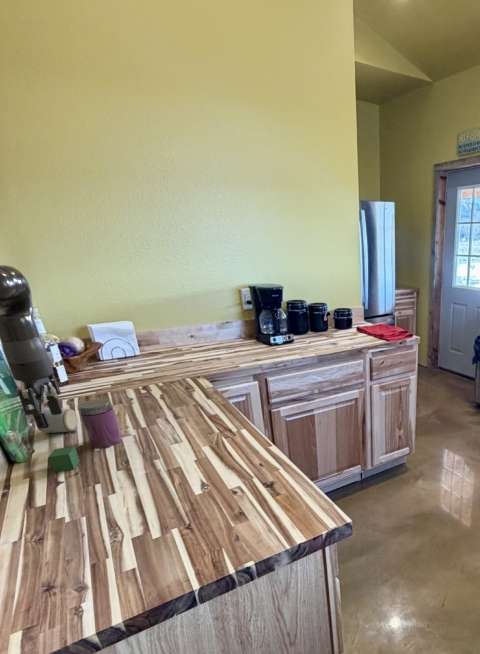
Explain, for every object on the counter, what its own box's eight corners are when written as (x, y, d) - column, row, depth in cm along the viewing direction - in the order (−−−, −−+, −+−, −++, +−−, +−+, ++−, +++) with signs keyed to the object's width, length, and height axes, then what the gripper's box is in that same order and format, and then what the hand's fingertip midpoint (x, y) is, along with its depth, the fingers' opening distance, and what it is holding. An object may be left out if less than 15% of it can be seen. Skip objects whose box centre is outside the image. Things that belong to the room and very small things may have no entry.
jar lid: (76, 416, 113) (74, 409, 112) (85, 406, 120) (83, 400, 119) (108, 413, 116) (106, 406, 115) (114, 403, 122) (112, 397, 121)
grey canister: (69, 435, 125) (61, 411, 122) (39, 437, 124) (31, 413, 121) (87, 421, 135) (80, 399, 132) (60, 423, 134) (52, 400, 131)
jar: (86, 450, 117) (73, 412, 112) (94, 437, 124) (83, 402, 119) (118, 445, 120) (107, 408, 115) (124, 434, 126) (114, 399, 122)
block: (53, 472, 106) (47, 457, 104) (60, 463, 110) (54, 449, 108) (74, 469, 108) (68, 454, 106) (79, 461, 111) (74, 446, 110)
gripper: (21, 351, 102) (44, 412, 108) (-8, 367, 89) (19, 435, 96) (57, 348, 104) (77, 408, 110) (34, 364, 91) (58, 430, 98)
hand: (50, 420), depth 103 cm, fingers open, 8 cm apart
